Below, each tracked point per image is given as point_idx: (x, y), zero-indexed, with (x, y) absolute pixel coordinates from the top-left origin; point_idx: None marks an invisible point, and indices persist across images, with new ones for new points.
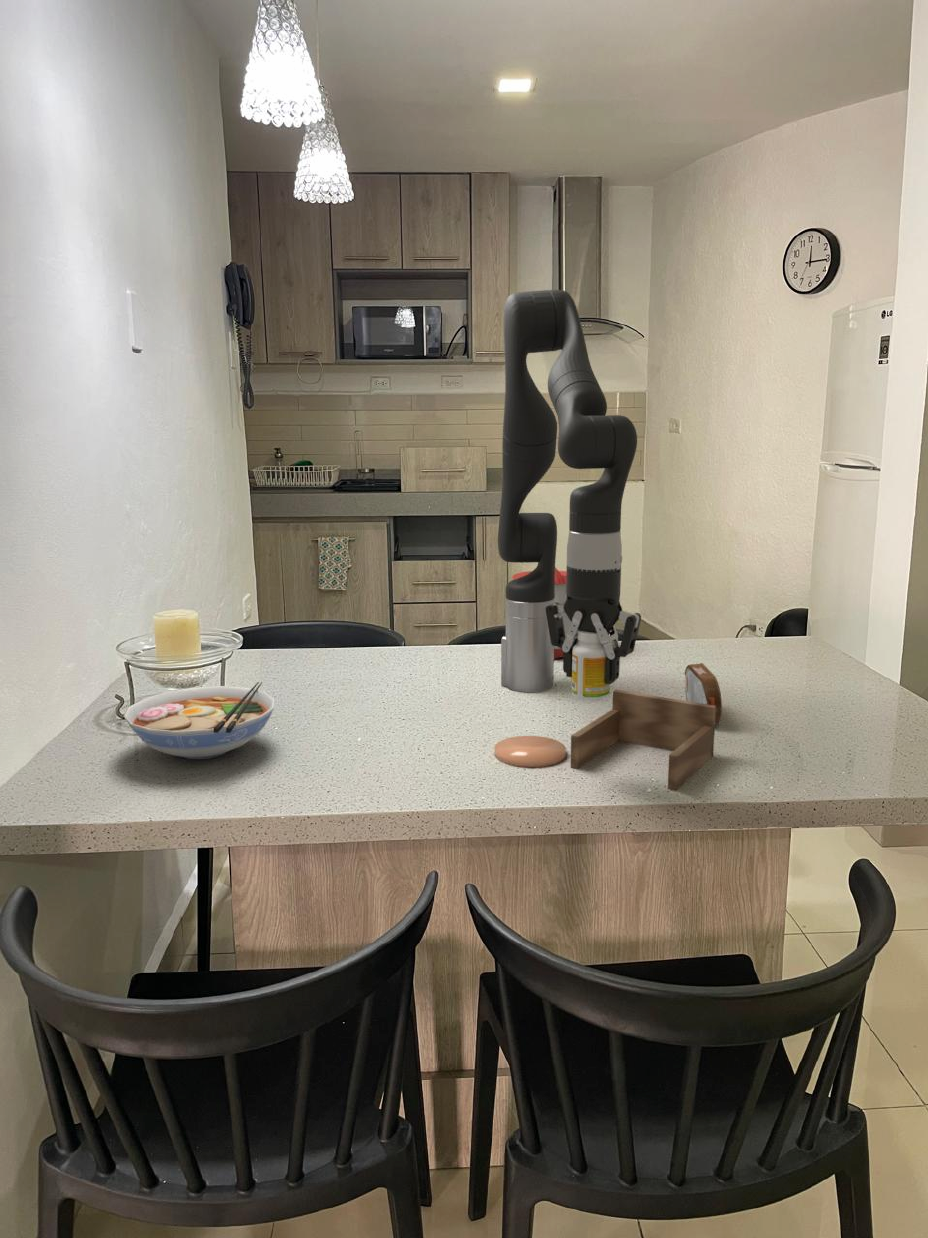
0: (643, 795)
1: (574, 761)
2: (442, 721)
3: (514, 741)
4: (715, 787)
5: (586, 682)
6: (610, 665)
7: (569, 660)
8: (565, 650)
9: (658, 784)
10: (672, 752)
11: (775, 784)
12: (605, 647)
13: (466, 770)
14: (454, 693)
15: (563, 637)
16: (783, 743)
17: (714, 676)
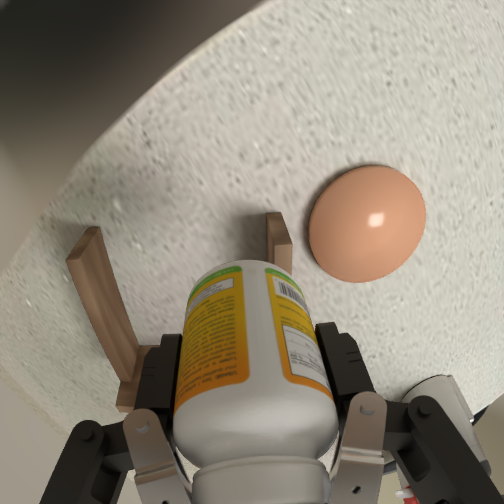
0: (111, 179)
1: (275, 218)
2: (499, 261)
3: (404, 240)
4: (61, 269)
5: (229, 301)
6: (154, 390)
7: (337, 370)
8: (366, 398)
9: (119, 233)
10: (82, 271)
11: (32, 312)
12: (164, 453)
13: (428, 107)
14: (493, 333)
15: (396, 447)
16: (107, 401)
17: (197, 466)
